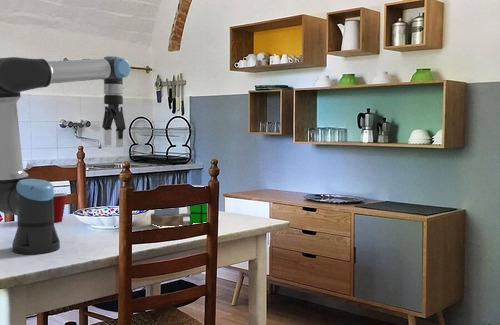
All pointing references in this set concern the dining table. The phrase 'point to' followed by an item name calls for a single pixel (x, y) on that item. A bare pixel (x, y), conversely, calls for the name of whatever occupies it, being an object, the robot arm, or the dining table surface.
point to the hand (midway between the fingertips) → (113, 146)
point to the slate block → (166, 212)
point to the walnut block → (167, 220)
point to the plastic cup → (59, 206)
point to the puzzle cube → (198, 213)
